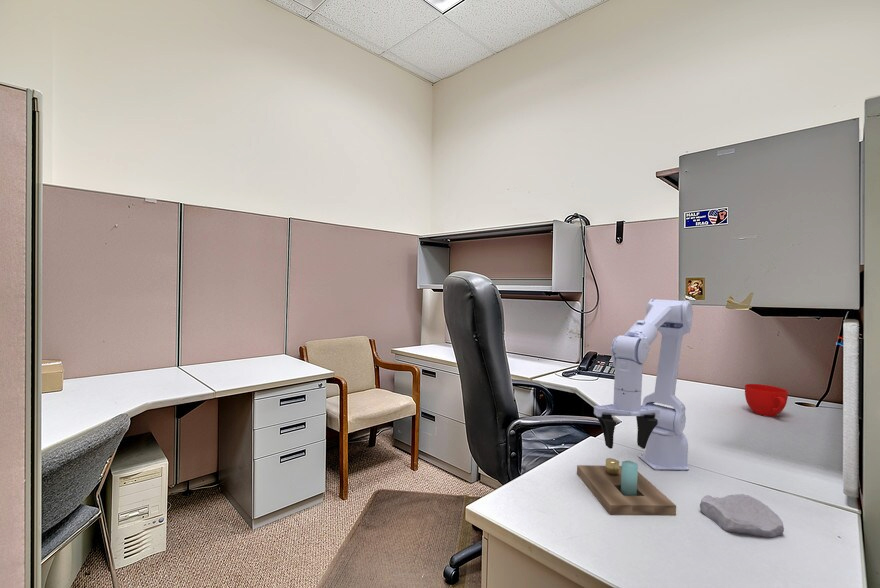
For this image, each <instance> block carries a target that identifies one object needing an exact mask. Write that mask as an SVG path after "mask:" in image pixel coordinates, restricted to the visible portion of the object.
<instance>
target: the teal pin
mask: <svg viewBox="0 0 880 588" xmlns="http://www.w3.org/2000/svg"><path fill="white" fill-rule="evenodd" d="M621 466H622V474H621V493H622V494H623V496H637V475H638V472H639V469H638V468H639V464H638V463H636V462H634V461H631V460H623V461H621Z"/></svg>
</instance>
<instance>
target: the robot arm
mask: <svg viewBox="0 0 880 588" xmlns="http://www.w3.org/2000/svg"><path fill="white" fill-rule="evenodd" d="M645 313H646V315H645V317H644V318H643V319H641V320H640V319H638V320H636V321H635V322H634V323H633V324H632V325H631V327H630V328H629V329H628V330H627V331H626V332H625V333H624V335H621V334H620V335H618V336H616V337H614V339H613V340H612V343H611V347H610V356H611V358H612V367H614V379H613V380H614V383H613V386H614V387H613V403H612V404H611V403H610V404H604V405H603V404H602V405H593V414H594V416H596V418H597V421H598V423H599V424H600V427H601V431H602V433H603V438H604V443H605V446H606V447H607V448H608V449H613V447H614V434H615V429H616V425H617V422H616V421H615V420H614V417H635V418H636V424H637V435H636V437H637V439H636V440H637V441H636V442H637V443H636V444H637V446H638V447H639V448H640V449H642V450H643V449H644V450H645V454H638V455H637V456H638V458H639V459H641V460H642V461H643V462H644V463H646V465H647V466H649V467H650V468H651V469H652V470H660V471H661V470H665V471H667V470H668V471H669V470H670V471H672V470H673V471H674V470H676V471H678V470H679V471H689V469H690V468H689V467H688V458H689V457H688V455H689V454H688V453H689V442H688V438H687V436H686V434H684V430H685V427H686V423H687V421H686V419H687V418H686V416H687V415H686V406H685V404H684V402H682V401H681V400H680V399H679V398H678V397H677V396H676V389H677V381H678V372H679V366H680V359H681V358H680V357H681V350H682V349H681V348H682V342H683V339H684V335H687V334H689V333H690V332H691V329H692V325H693V318H694V317H693V316H694V311H693V305H692V303H691V301H690V300H688V299H687V300H673V299H656V298H651V299H650V300H649V301H648V302H647V304H646V309H645ZM658 332H659V333H660V334H661V340H660V349H659V357H658V364H657V371H656V372H657V373H656V378H655V383H654V385H655V386H654V392H652V393H650V394H648V395H645V396H644V398H643V401H642V386H643V365H644V363H645V362H646V361H647V358H648V355H649V352H650V348H651V347H650V346H651V345H652V344H653V342H654V341H655V340H656V339H657V337H658ZM655 403H656V404H655ZM665 405H666V406H665ZM668 406H669V407H668Z"/></svg>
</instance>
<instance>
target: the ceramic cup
mask: <svg viewBox="0 0 880 588" xmlns="http://www.w3.org/2000/svg"><path fill="white" fill-rule="evenodd" d="M744 396H745V401H746V403H747V405H748V407H749V408H750V409H751V410H752V411H753V413H754V414H756V415H760V416H762V417H763V416H764V417H769V418H770V417H774V418H775V417H777V416H778V415H779V414H781V413H782V411H783V410H784V409H786V408H785V407H786V406H787V402H788V396H789V391H788V390H786V389H785V388H782V387H778V386H775V385H774V386H772V385H768V384H767V385H766V384H760V383H759V384H758V383H747V384H745V385H744Z"/></svg>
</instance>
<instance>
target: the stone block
mask: <svg viewBox="0 0 880 588" xmlns="http://www.w3.org/2000/svg"><path fill="white" fill-rule="evenodd" d="M699 509H700V512H701V513H702V514H703V515H704V516H706V517H707V518H708V519H710V520H711V521H713V522H715V523H716V524H717V525H718V527H720V528H721V529H722V530H723V531H727V532H730V533H739V534H747V535H752V536H756V537H757V536H758V537H766V538H767V537H768V538H775V537H779V536H781V535H783V534H784V532H785V528H784V522H783V520H782V519H781V518H780V516H779V515H778V514H777V513H775V512H774V511H773V510H772V509H771V508H770V507H769V506H768V505H767V504H765V503H763V502H762V501H761V500H760V499H757V498H755V497H753V496H751V495H749V494H744V493H738V494H729V495H726V496H722V497H718V496H717V497H716V496H714V497H713V496H712V495H707V494H706V495H704V496H703V497H702V498H701V501H700V504H699Z"/></svg>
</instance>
